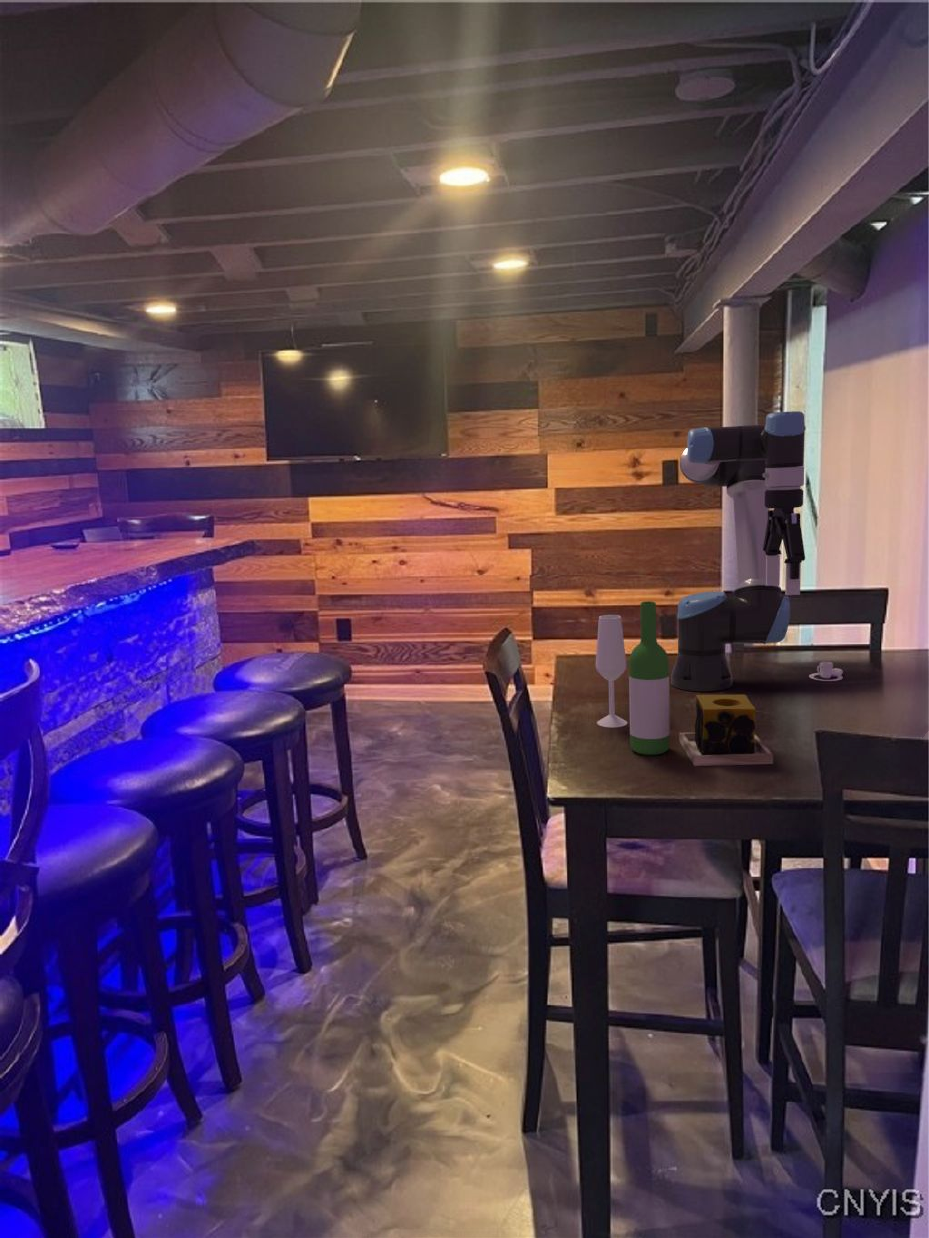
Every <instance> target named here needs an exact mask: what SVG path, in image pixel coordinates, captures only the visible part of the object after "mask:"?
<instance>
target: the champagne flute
mask: <svg viewBox="0 0 929 1238" xmlns="http://www.w3.org/2000/svg"><path fill="white" fill-rule="evenodd" d="M622 622H623V620H622V617H621V615H618V614H605V615H600V616H598V624H597V625H598V626H597V628H598V629H597V640H596V641H597V642H596V653H595V654H596V656H595V669H596V671H597V672H598V674H600V675H601V676H602V677H603V678H604V679H605V680H606V681H608V715H606V716H604V717H603V718H601V719H599V720H598V721H597V722H596V724H597V726H600V727H603V728H621V727H625V726H626V725H627V724H628V721H627V720H625V719H623V718H622V717H619V716H618V715H616V714H615V713H616V712H615V709H616V708H615V681H617V680H618V678H620V677H621V676H622V675H623V674H624V673H625V670H626V669H627V666H628V665H627V658H626V650H625V641H624V632H623V623H622Z"/></svg>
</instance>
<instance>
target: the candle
mask: <svg viewBox="0 0 929 1238" xmlns="http://www.w3.org/2000/svg"><path fill="white" fill-rule="evenodd" d="M748 698H749V697H748V696H747V695H746V694H696V695H695V702H696V703H695V709H696V718H695V722H694V723H695V724H694V732H695V742H696V746H697V748H698V750H699V752H700V753H701V755H727V754H755V743H754V735H756V732H755V730H756V712H757V710H756V707H755V706H754V705H753V704H752V703H751V701H750V700H749V699H748Z"/></svg>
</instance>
